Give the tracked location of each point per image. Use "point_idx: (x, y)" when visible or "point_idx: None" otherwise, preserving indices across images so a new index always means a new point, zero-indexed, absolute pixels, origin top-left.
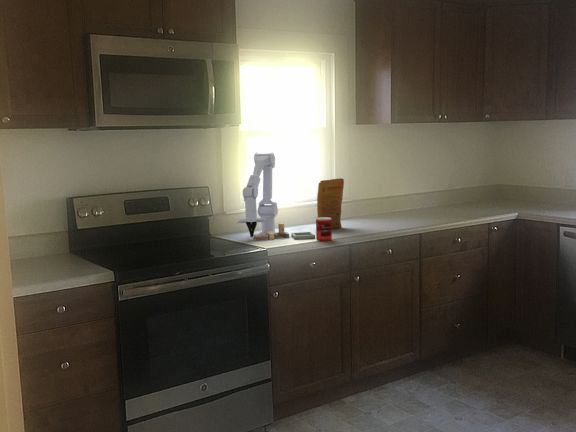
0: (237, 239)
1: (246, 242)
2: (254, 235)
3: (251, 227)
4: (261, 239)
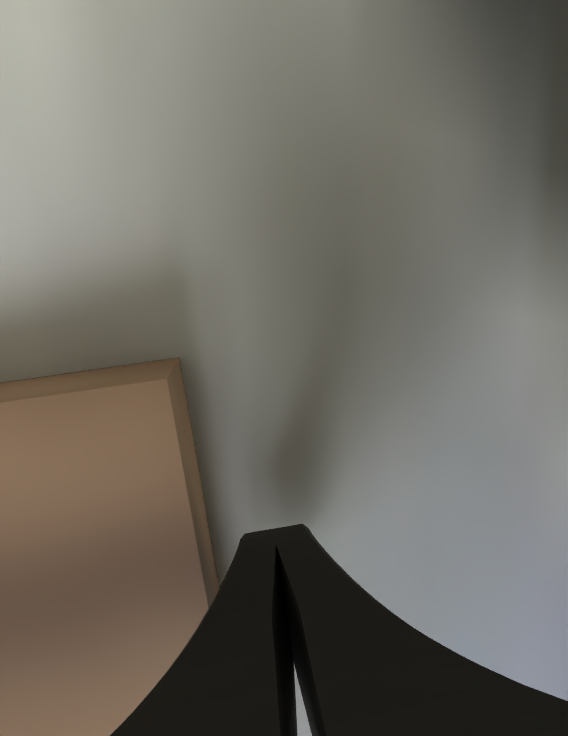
0: (564, 583)
1: (393, 117)
2: None
3: (317, 690)
4: (31, 384)
